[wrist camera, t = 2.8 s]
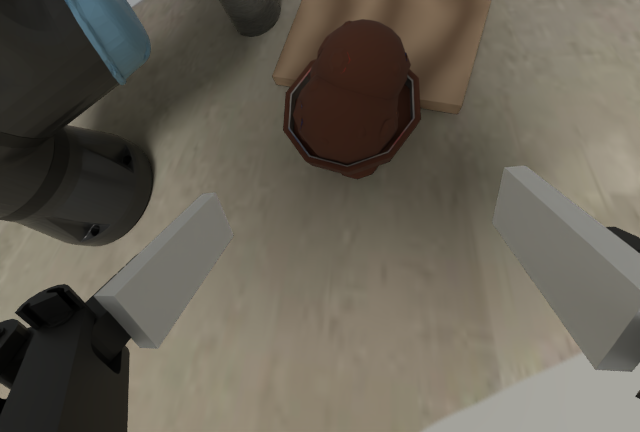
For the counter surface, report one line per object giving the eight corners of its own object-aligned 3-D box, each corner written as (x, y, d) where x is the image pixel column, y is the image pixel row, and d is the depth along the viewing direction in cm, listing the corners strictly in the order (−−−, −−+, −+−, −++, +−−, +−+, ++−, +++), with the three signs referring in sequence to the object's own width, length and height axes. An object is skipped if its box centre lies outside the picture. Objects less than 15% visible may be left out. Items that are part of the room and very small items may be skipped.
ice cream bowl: (327, 105, 32) (286, -32, 18) (421, 123, 29) (464, -22, 15) (296, 185, 31) (225, 109, 16) (392, 214, 28) (407, 151, 13)
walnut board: (276, 84, 34) (272, 76, 33) (311, -6, 36) (308, -18, 35) (457, 114, 28) (461, 105, 27) (488, 4, 30) (493, -9, 29)
